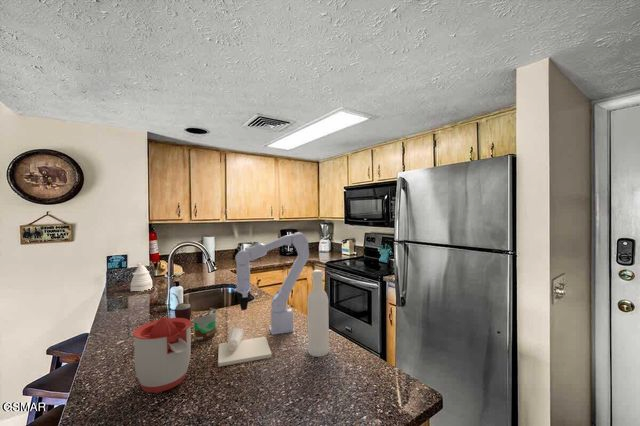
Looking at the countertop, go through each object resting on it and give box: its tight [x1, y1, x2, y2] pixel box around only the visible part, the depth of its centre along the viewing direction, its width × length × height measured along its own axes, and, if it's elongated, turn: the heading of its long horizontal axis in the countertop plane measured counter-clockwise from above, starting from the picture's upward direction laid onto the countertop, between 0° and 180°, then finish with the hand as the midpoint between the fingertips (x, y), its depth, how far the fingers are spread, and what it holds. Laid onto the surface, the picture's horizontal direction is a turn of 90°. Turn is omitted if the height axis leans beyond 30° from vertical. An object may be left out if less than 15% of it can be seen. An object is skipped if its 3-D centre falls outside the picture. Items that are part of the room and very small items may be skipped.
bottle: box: [306, 269, 330, 358], centre depth 104 cm, size 8×8×30 cm
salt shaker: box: [227, 327, 244, 351], centre depth 107 cm, size 5×5×11 cm
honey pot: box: [130, 262, 153, 292], centre depth 195 cm, size 13×13×18 cm
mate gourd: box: [171, 292, 192, 321], centre depth 136 cm, size 8×8×15 cm
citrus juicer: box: [132, 316, 192, 394], centre depth 86 cm, size 16×17×20 cm
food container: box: [192, 307, 218, 342], centre depth 118 cm, size 12×6×10 cm, turn 169°
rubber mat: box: [217, 336, 273, 368], centre depth 105 cm, size 18×15×1 cm
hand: (243, 309), depth 122 cm, fingers closed
